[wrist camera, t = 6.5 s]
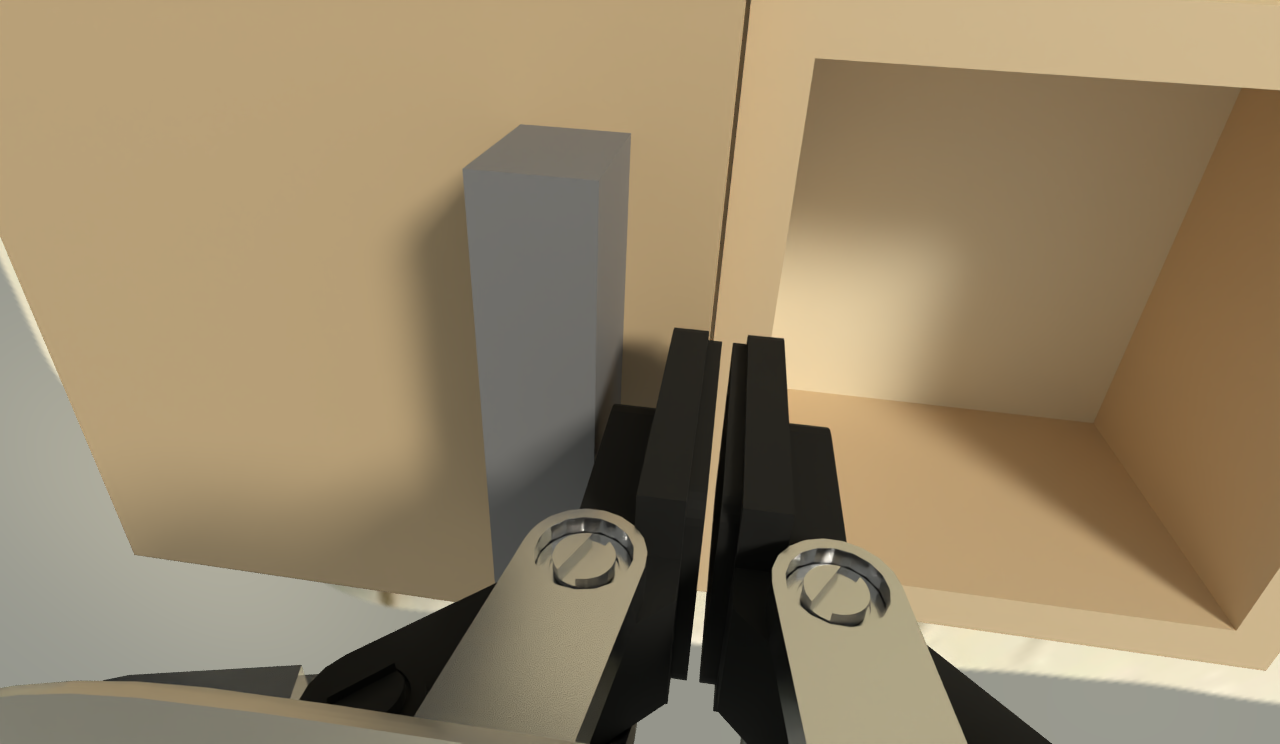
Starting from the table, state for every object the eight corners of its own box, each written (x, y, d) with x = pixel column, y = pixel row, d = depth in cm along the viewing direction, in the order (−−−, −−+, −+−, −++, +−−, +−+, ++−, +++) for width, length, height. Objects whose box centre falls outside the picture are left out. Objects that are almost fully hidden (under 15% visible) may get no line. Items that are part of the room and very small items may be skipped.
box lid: (-82, -89, 11) (-361, -98, 8) (750, -42, 10) (747, -34, 7) (159, 530, 17) (47, 640, 15) (681, 605, 16) (664, 740, 13)
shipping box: (756, -40, 17) (753, -25, 10) (1317, -8, 16) (1742, 32, 9) (707, 397, 23) (685, 588, 16) (1108, 443, 22) (1266, 670, 15)
